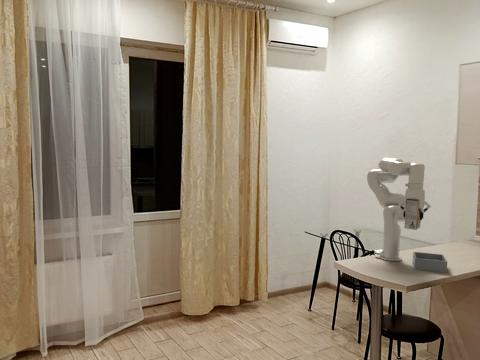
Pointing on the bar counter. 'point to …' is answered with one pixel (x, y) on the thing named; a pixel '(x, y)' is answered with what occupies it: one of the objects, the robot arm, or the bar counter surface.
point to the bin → (429, 262)
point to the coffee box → (412, 214)
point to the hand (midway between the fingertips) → (413, 218)
